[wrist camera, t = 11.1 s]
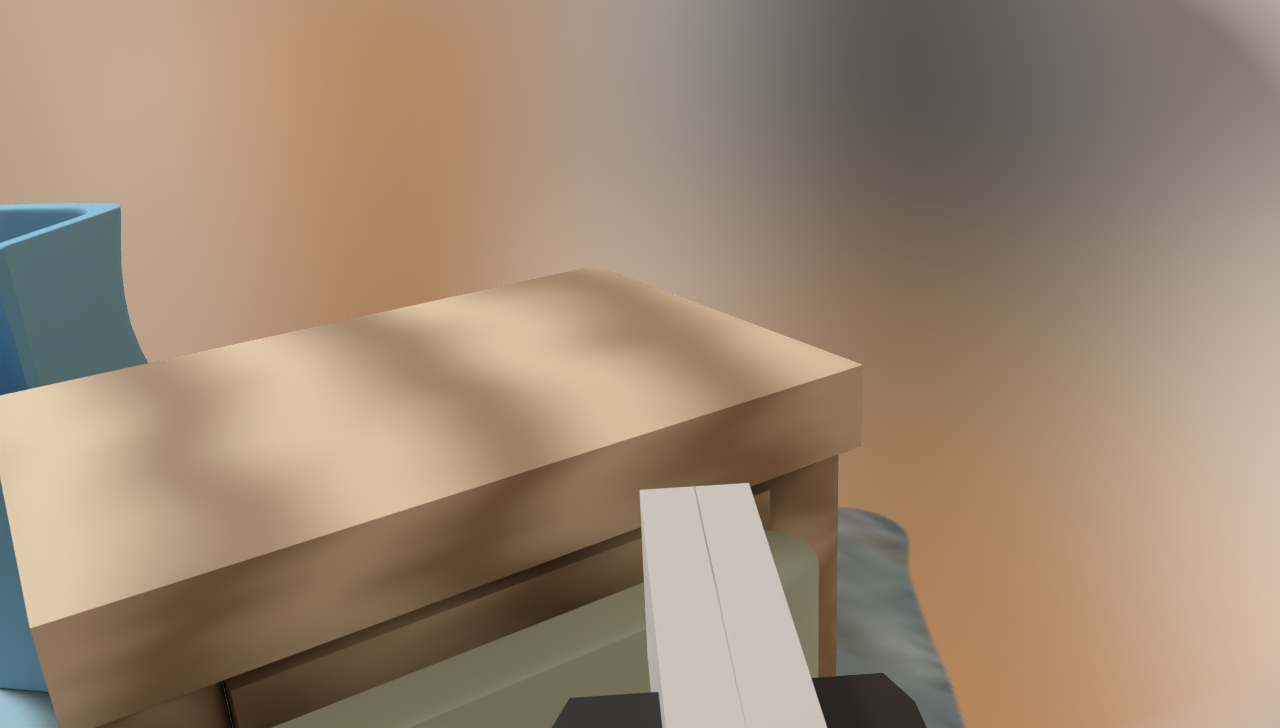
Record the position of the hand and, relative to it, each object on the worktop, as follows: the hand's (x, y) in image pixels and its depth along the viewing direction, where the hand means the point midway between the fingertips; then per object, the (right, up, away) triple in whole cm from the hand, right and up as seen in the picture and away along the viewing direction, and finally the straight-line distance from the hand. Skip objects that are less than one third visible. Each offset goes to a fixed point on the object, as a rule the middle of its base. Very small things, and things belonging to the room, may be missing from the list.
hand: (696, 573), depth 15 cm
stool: (-6, -14, +21) cm, 26 cm away
